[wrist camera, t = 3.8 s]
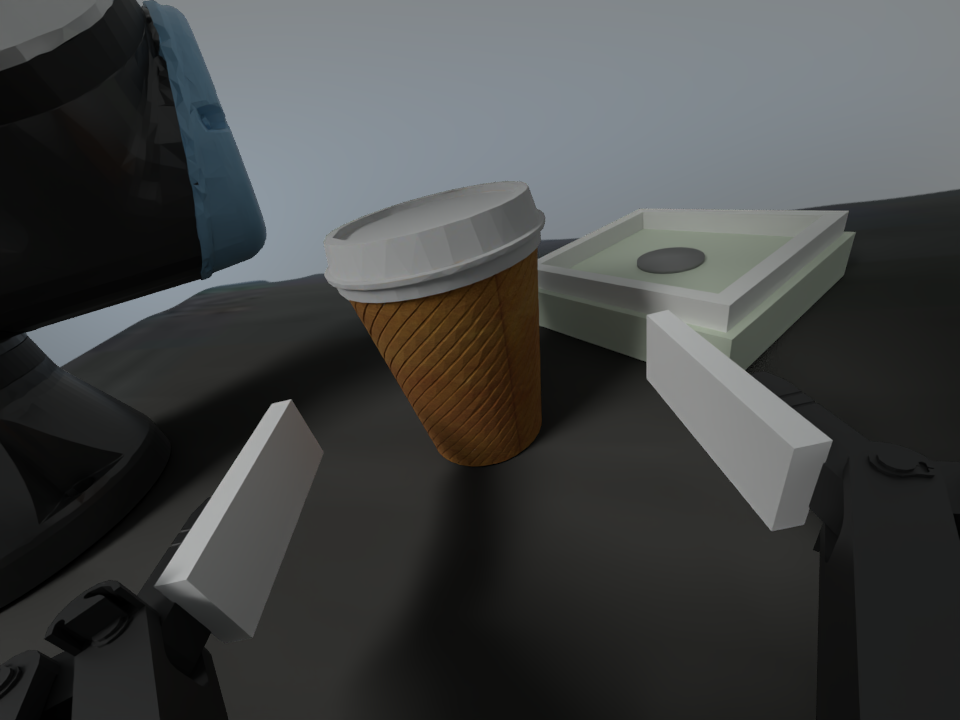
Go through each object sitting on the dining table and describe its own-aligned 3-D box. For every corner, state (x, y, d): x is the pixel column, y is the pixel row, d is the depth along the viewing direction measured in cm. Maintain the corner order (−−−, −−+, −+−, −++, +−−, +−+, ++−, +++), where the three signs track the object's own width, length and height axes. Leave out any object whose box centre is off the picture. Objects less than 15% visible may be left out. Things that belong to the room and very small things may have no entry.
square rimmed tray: (522, 319, 32) (512, 268, 30) (638, 253, 39) (638, 207, 37) (725, 388, 20) (735, 312, 18) (843, 275, 27) (862, 208, 24)
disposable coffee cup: (408, 398, 26) (335, 218, 20) (544, 362, 26) (512, 171, 20) (403, 516, 18) (277, 273, 12) (600, 463, 18) (576, 192, 12)
